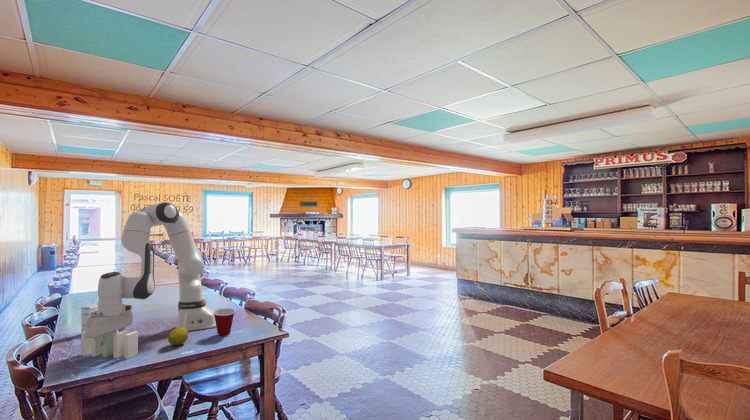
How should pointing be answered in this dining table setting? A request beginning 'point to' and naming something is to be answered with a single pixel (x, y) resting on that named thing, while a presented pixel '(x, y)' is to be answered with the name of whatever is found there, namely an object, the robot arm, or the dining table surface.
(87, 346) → the domino
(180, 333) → the lemon
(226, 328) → the plastic cup
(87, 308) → the syrup box
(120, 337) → the domino
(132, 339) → the domino
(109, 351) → the domino
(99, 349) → the domino
